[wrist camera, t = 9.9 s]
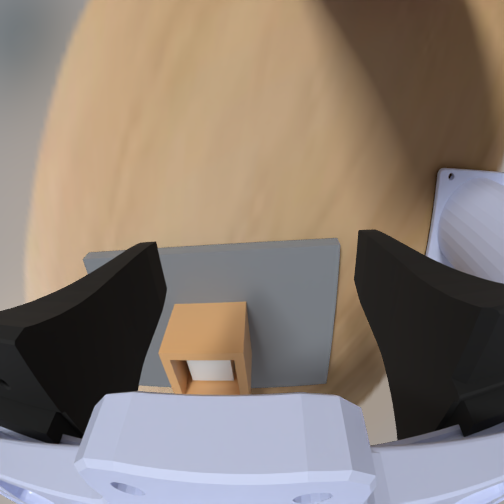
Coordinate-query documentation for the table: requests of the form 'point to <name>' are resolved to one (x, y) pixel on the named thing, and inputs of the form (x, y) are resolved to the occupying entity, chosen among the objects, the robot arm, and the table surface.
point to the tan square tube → (207, 346)
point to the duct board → (254, 305)
